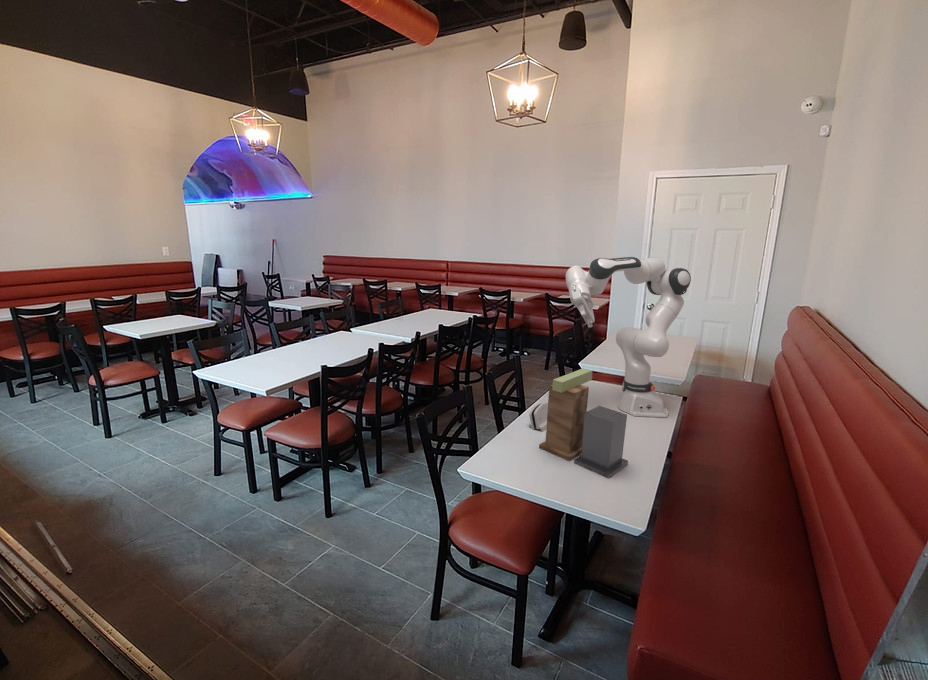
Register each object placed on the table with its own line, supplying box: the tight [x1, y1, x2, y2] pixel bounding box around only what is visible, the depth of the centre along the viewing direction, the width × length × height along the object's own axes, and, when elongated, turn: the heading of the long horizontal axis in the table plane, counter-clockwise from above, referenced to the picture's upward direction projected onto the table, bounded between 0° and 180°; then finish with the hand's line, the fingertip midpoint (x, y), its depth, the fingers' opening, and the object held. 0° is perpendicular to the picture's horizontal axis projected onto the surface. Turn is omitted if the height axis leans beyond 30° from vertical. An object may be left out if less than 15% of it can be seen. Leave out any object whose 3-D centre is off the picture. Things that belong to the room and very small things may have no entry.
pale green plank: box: [552, 367, 593, 393], centre depth 171 cm, size 21×4×4 cm, turn 134°
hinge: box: [528, 402, 548, 433], centre depth 197 cm, size 17×5×10 cm, turn 143°
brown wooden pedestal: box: [538, 383, 590, 462], centre depth 173 cm, size 14×14×26 cm
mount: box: [573, 405, 629, 479], centre depth 162 cm, size 14×14×20 cm
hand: (586, 320), depth 189 cm, fingers open, 8 cm apart
